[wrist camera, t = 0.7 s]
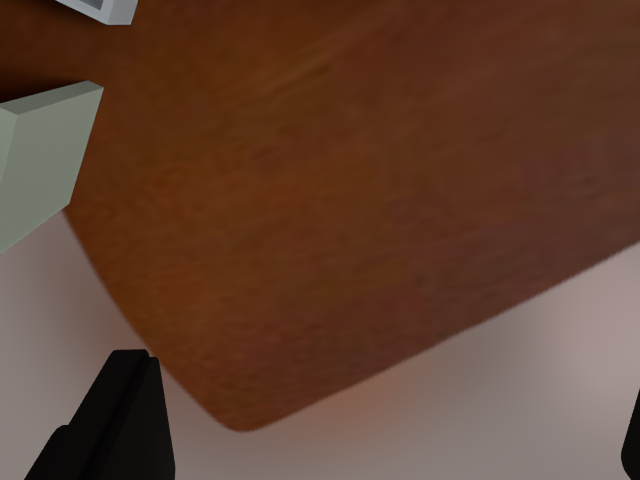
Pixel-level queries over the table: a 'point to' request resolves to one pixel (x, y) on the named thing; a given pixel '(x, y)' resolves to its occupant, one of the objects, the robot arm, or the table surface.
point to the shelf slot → (42, 155)
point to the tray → (105, 10)
